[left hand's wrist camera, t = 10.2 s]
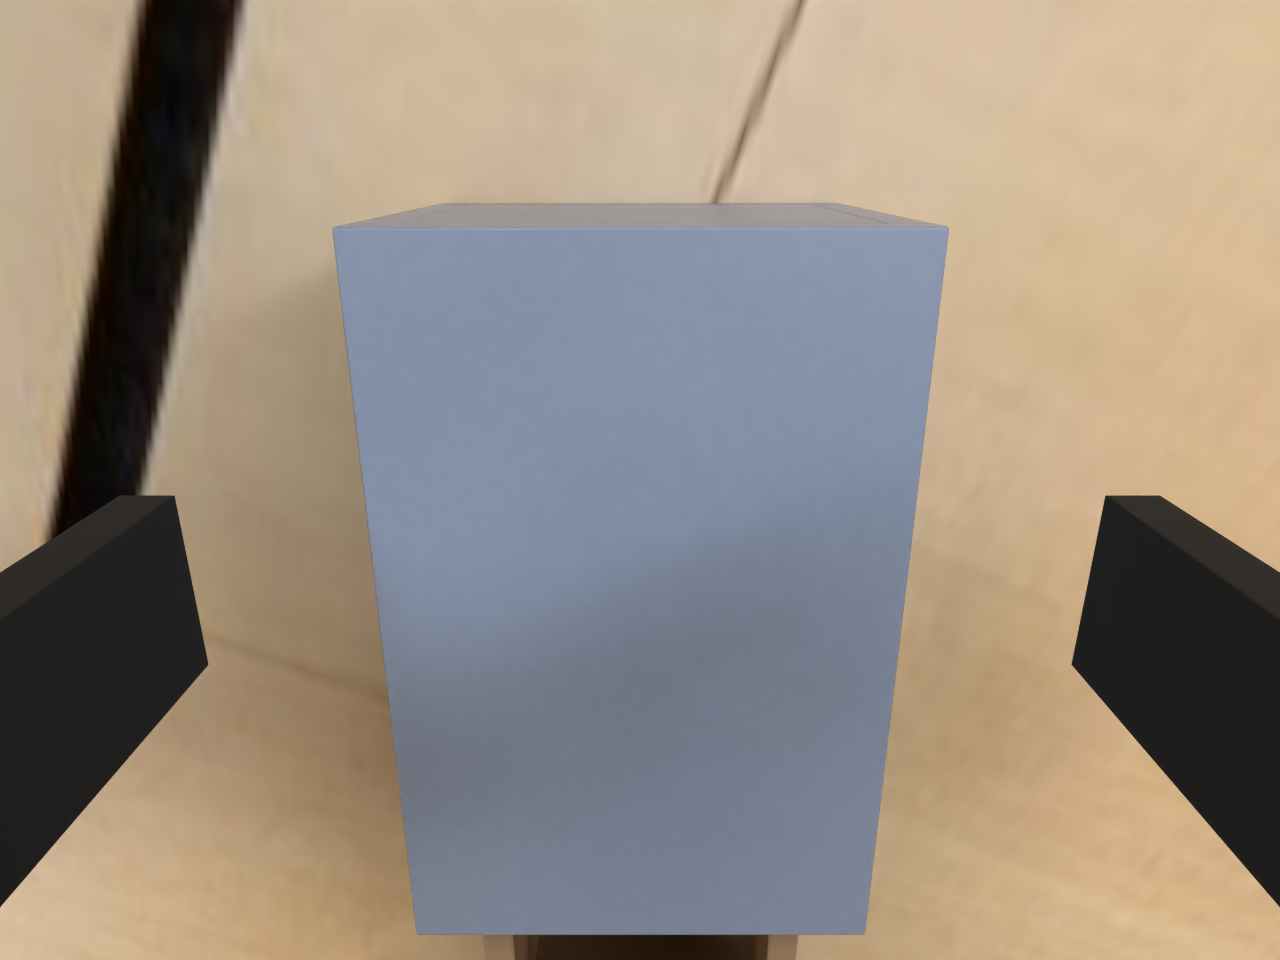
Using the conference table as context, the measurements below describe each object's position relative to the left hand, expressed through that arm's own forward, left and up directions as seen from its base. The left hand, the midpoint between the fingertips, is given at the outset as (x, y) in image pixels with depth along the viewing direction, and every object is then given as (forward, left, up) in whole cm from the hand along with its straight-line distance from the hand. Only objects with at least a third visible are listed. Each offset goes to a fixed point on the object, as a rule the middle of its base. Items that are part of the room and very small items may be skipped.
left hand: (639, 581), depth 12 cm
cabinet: (+3, -2, -14) cm, 14 cm away
